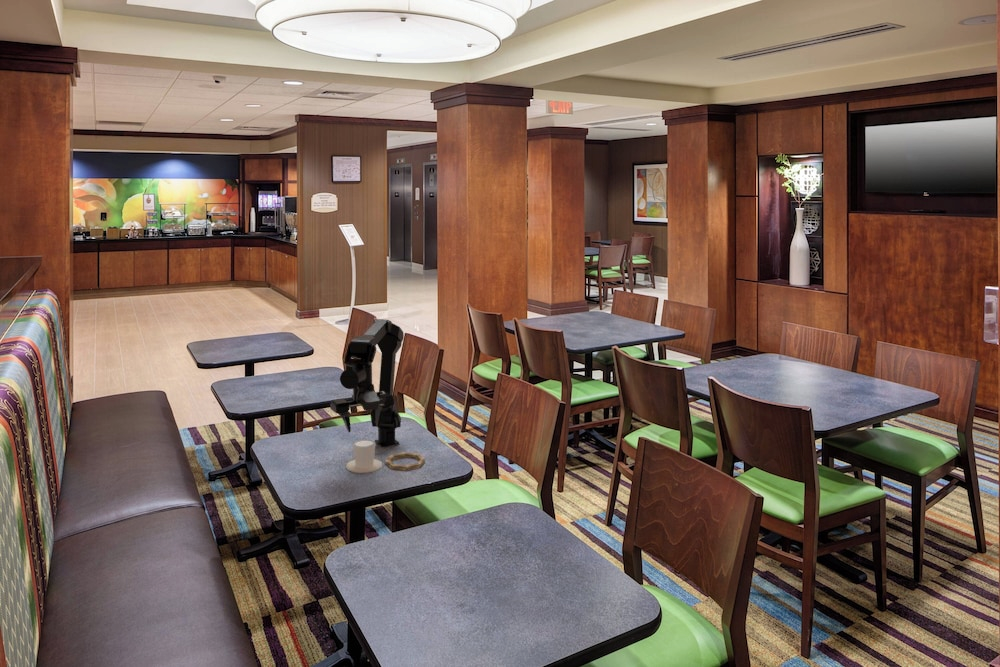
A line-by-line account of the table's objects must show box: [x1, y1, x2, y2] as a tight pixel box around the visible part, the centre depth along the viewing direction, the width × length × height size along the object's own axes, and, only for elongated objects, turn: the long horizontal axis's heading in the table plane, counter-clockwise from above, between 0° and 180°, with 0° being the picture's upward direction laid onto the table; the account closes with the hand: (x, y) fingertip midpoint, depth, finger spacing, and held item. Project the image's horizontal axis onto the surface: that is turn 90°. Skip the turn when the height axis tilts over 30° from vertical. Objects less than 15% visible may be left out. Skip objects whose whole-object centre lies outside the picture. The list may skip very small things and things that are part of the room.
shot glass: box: [352, 439, 376, 468], centre depth 221 cm, size 7×7×7 cm
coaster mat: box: [345, 458, 383, 474], centre depth 222 cm, size 11×11×1 cm
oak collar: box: [385, 451, 426, 472], centre depth 225 cm, size 11×11×1 cm
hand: (363, 429), depth 220 cm, fingers open, 9 cm apart
